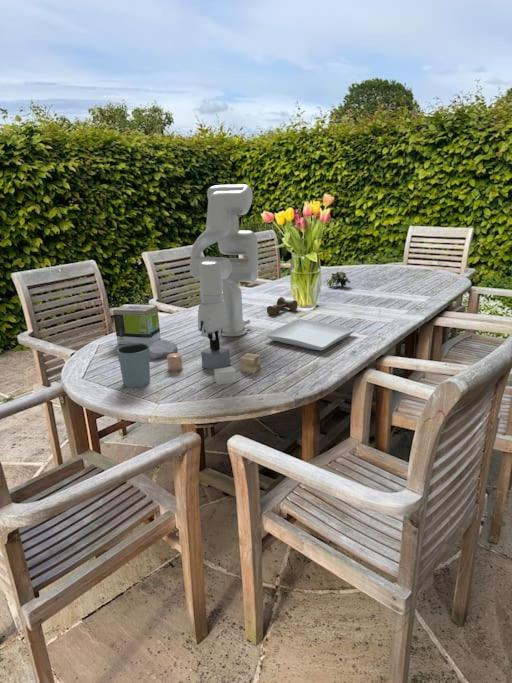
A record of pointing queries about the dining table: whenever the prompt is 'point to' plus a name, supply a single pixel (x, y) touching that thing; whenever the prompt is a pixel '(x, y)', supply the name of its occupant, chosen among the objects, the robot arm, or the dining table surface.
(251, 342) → the dining table surface
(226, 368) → the pale grey block
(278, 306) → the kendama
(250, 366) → the oak cube
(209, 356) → the slate block
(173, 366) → the terracotta cylinder
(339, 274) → the miniature tree
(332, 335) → the square plate
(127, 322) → the tea box
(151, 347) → the stone block
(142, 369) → the blue-grey cup
